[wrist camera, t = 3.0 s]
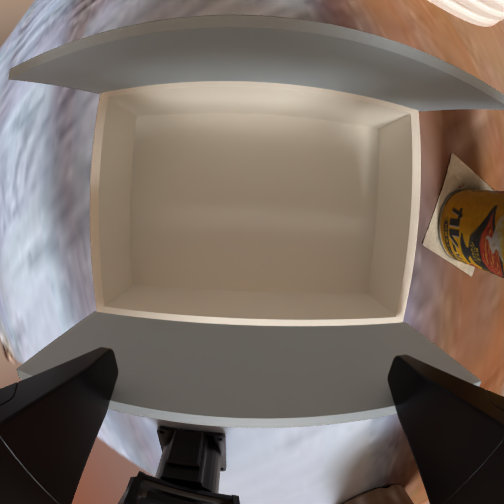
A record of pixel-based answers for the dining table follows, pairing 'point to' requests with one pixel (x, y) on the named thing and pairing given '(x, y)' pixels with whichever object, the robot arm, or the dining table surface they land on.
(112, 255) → the carton
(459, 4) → the plate stack
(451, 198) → the condiment
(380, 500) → the plant pot
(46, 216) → the dining table surface
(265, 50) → the flap
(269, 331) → the flap
